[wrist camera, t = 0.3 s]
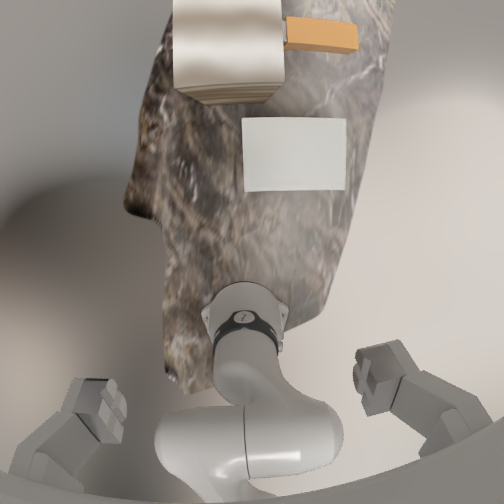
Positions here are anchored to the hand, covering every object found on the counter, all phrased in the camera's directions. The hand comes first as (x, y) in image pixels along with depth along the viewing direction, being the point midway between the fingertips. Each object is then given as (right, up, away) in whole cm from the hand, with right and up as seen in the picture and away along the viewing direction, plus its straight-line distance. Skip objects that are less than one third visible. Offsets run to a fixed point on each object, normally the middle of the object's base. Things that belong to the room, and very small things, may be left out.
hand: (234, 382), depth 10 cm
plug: (+5, +27, +18) cm, 33 cm away
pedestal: (+6, +23, +45) cm, 51 cm away
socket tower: (-3, +36, +40) cm, 53 cm away
